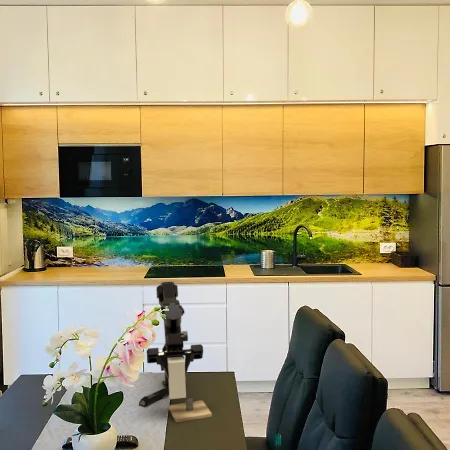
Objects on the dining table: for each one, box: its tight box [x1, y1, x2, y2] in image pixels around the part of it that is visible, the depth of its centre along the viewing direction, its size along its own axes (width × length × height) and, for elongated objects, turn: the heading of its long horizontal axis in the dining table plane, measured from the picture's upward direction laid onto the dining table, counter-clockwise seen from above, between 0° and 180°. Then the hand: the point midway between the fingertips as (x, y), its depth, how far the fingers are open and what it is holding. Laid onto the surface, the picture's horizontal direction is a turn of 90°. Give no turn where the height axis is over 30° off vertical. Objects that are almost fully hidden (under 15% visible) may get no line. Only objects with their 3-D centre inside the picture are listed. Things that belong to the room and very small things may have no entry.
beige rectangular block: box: [168, 357, 187, 400], centre depth 179 cm, size 5×5×12 cm
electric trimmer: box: [138, 386, 169, 408], centre depth 195 cm, size 4×16×3 cm, turn 145°
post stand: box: [168, 397, 213, 423], centre depth 182 cm, size 12×12×4 cm
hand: (177, 377), depth 177 cm, fingers closed on beige rectangular block, 5 cm apart
